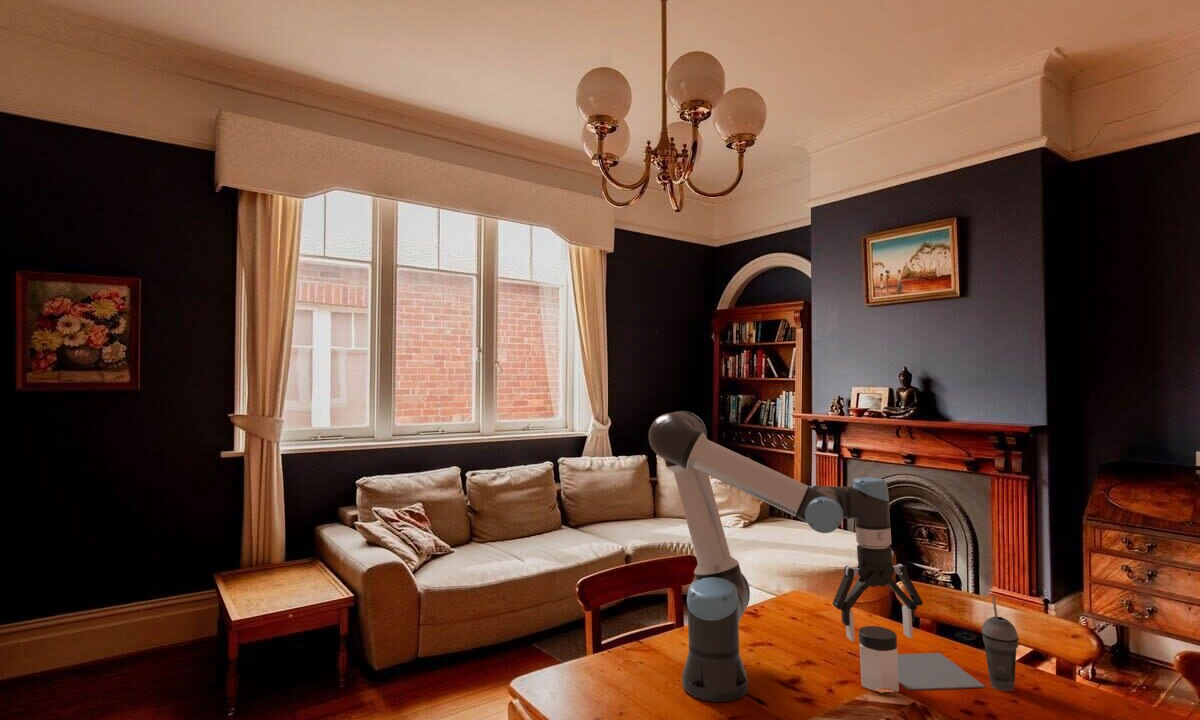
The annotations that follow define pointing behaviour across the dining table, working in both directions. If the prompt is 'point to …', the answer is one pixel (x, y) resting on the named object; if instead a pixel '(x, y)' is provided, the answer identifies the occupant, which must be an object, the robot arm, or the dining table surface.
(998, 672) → the beverage cup
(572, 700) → the dining table surface
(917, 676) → the mat
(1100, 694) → the dining table surface
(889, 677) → the jar
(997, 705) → the dining table surface
